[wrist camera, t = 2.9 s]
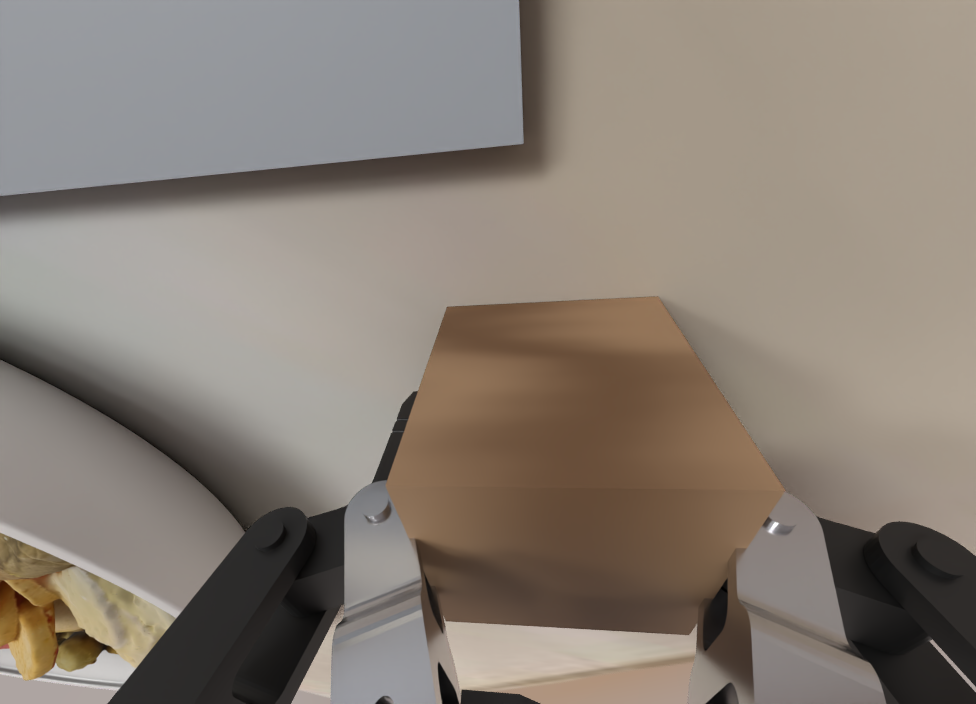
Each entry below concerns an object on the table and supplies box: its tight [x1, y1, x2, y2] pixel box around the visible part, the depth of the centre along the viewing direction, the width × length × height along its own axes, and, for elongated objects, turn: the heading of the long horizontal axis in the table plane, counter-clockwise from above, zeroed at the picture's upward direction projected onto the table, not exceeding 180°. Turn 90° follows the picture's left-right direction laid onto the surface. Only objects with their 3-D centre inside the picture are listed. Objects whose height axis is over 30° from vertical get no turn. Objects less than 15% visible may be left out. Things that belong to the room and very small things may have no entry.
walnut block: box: [385, 297, 786, 635], centre depth 9 cm, size 6×6×6 cm
